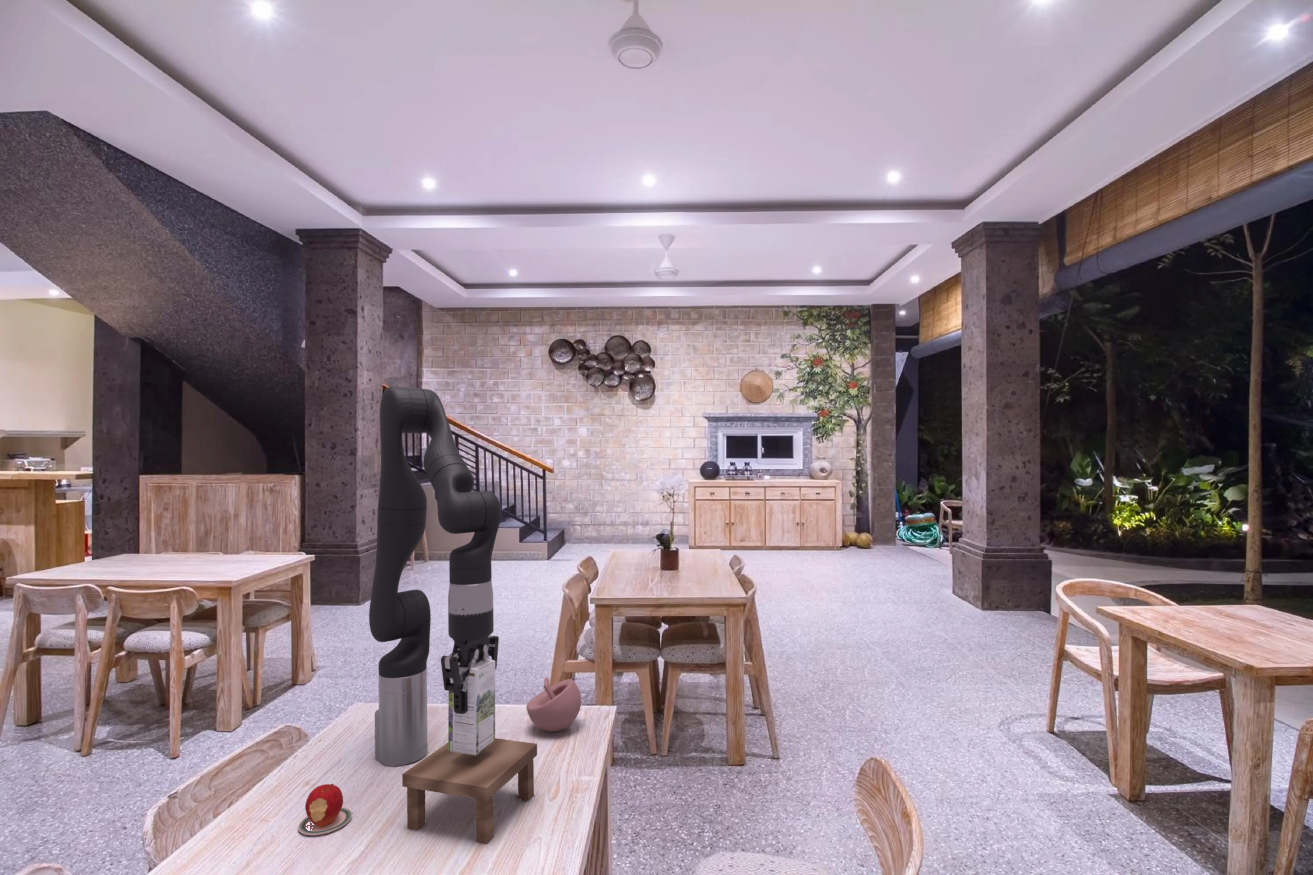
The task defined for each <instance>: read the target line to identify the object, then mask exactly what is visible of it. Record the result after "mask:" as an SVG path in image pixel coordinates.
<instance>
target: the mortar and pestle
mask: <svg viewBox="0 0 1313 875" xmlns="http://www.w3.org/2000/svg"><path fill="white" fill-rule="evenodd" d="M543 679H544V684H543V689H544V690H543V691H541V692H540V693H539V694H537V695H536V696H534V697H533V698H532V699H530V700H529V701H528V702H527V704H526V710H527V711H526V712H527V715H528V717H529V718H530V721H531V722H532V723H533V725H534V726H536V727H537V728H539V729H540V730H542V731H545V732H550V733H553V732H554V733H555V732H559V731H562V730H564V729H567V728H568V727H569V726H571V725H572V724H573V723H574V722H575V720H576V719H577V717H578V715H579V714H580V713H579V712H580V711H581V707H582V696H581V692H580V689H579V686H578V685H577V683H576V682H575V681H574V680H573V678H568V679H564V680H561V681H559V682H557V683H555V684H553V685H551V686H550V679H549V677H545V678H543Z"/></svg>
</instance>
